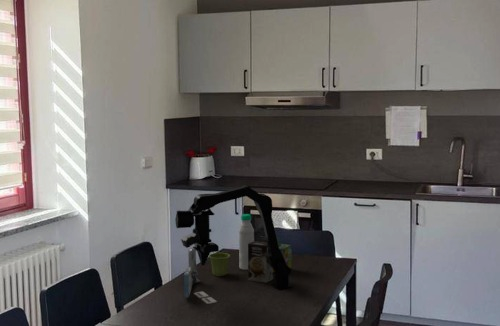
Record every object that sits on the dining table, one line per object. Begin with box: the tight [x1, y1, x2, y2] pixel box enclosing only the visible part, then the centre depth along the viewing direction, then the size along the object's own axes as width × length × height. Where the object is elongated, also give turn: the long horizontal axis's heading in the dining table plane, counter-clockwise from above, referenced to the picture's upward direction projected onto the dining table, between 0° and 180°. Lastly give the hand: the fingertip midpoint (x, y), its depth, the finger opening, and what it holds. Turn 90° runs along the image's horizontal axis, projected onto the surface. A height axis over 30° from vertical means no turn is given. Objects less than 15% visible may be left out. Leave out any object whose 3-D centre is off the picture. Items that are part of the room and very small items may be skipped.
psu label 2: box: [200, 296, 218, 305], centre depth 242 cm, size 6×4×1 cm, turn 27°
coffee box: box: [247, 240, 273, 284], centre depth 268 cm, size 9×6×16 cm
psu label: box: [193, 291, 210, 299], centre depth 249 cm, size 6×4×1 cm, turn 27°
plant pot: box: [208, 252, 231, 277], centre depth 277 cm, size 9×9×9 cm
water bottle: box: [238, 213, 255, 271], centre depth 285 cm, size 7×7×25 cm
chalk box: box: [272, 237, 293, 274], centre depth 281 cm, size 9×9×15 cm
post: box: [187, 248, 201, 284], centre depth 267 cm, size 5×5×14 cm
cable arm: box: [183, 266, 194, 298], centre depth 253 cm, size 22×2×9 cm, turn 0°
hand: (202, 265), depth 248 cm, fingers closed
